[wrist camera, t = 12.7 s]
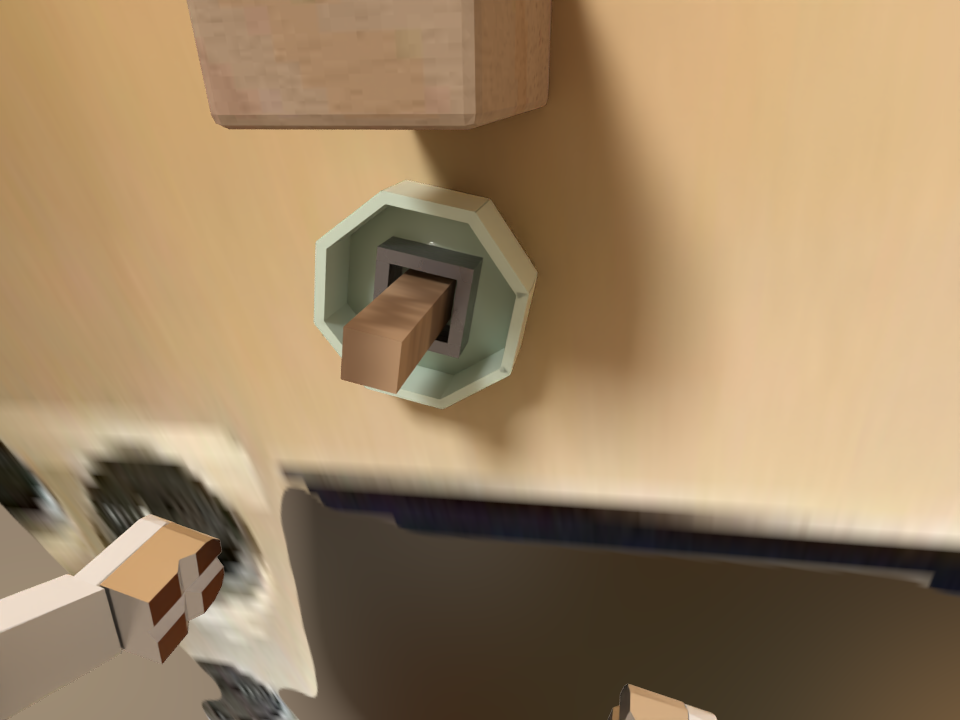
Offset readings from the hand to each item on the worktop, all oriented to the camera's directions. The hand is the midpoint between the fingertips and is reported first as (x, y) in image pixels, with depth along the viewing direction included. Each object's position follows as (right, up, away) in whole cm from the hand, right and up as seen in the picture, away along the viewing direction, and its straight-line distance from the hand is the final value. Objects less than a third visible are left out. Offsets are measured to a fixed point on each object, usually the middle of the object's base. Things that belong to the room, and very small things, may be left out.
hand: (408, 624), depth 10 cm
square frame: (-2, +11, +32) cm, 34 cm away
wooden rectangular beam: (-2, +10, +31) cm, 33 cm away
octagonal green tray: (-2, +11, +32) cm, 34 cm away
